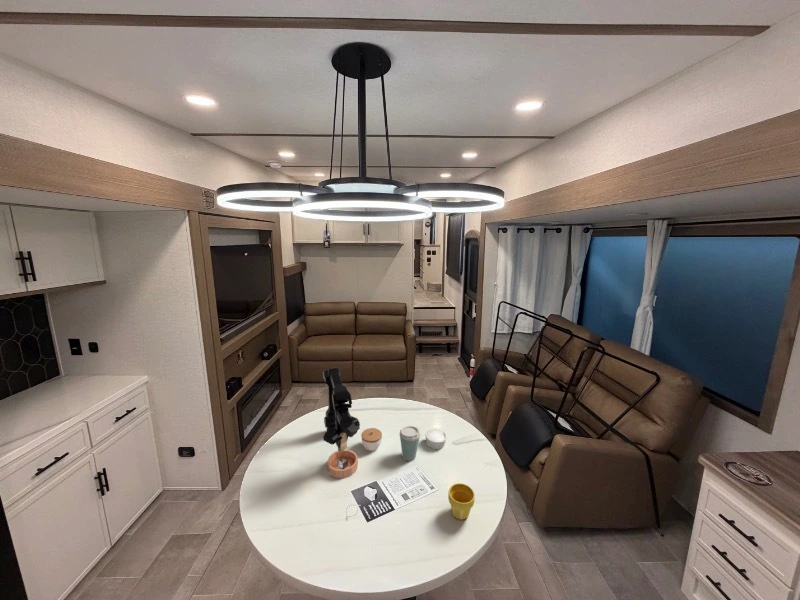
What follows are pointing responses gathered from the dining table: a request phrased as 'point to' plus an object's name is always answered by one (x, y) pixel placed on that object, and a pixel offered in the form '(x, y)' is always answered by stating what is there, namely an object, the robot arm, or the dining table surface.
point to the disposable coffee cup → (409, 442)
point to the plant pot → (461, 500)
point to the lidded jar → (371, 438)
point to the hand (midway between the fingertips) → (342, 445)
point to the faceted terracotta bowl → (347, 455)
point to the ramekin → (435, 438)
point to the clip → (341, 464)
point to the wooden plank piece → (343, 442)
